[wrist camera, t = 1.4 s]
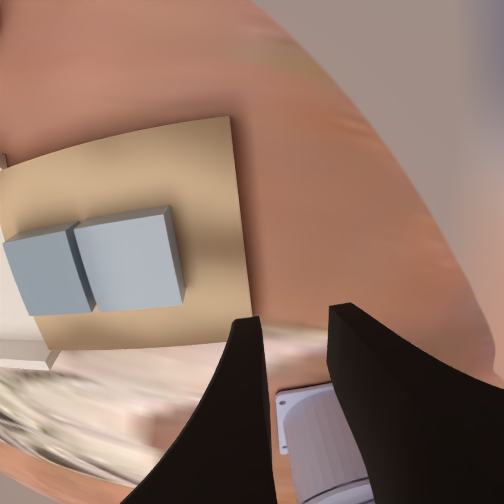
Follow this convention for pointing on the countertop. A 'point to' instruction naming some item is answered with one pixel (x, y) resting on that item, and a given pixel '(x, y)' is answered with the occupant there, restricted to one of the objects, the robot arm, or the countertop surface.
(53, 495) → the countertop surface
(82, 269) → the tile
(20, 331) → the tray
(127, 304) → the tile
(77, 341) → the board
